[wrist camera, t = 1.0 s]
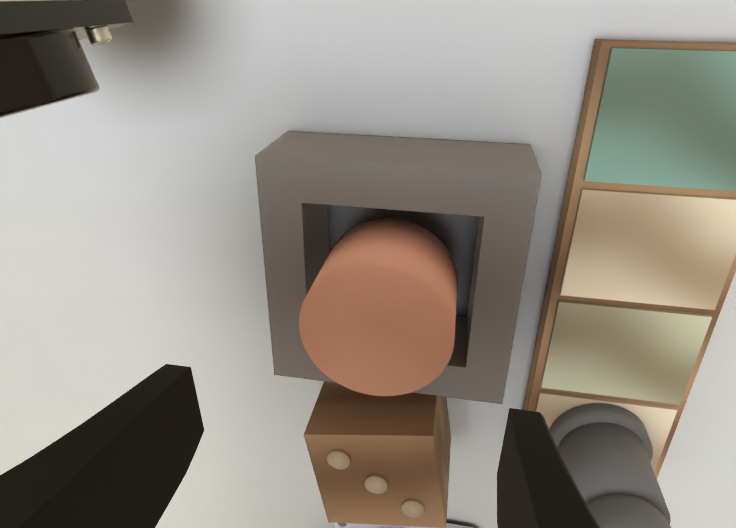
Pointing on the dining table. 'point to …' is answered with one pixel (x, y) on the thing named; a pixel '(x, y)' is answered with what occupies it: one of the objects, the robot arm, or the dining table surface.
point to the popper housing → (408, 193)
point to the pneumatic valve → (51, 49)
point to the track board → (642, 235)
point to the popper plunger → (382, 309)
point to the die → (381, 457)
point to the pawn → (611, 465)
